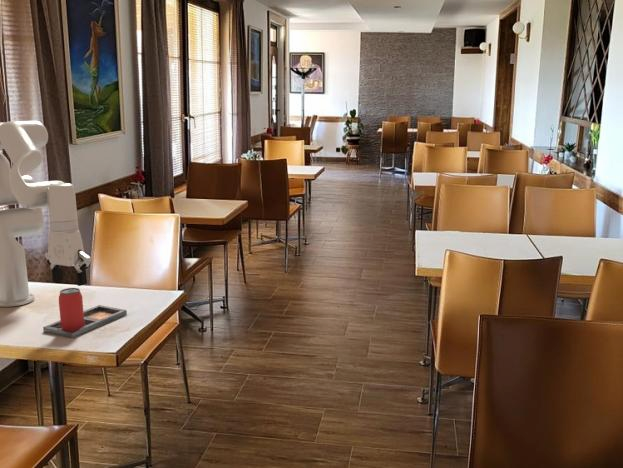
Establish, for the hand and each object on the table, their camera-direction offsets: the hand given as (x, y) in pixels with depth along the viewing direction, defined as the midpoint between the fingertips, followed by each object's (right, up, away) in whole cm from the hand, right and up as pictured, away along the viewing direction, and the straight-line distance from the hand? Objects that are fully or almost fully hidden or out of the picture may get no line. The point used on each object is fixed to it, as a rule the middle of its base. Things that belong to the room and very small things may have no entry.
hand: (70, 283), depth 186 cm
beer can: (0, -14, +3) cm, 15 cm away
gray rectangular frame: (+2, -13, +8) cm, 15 cm away
